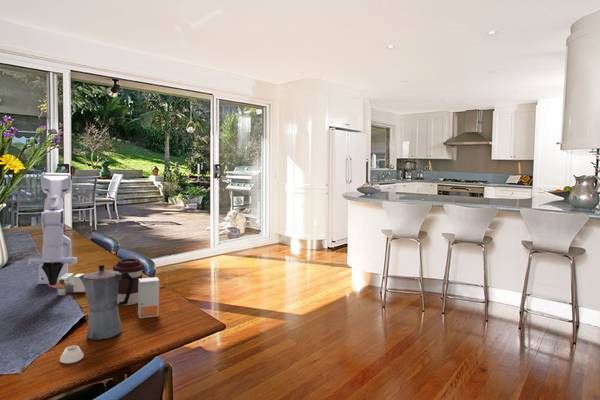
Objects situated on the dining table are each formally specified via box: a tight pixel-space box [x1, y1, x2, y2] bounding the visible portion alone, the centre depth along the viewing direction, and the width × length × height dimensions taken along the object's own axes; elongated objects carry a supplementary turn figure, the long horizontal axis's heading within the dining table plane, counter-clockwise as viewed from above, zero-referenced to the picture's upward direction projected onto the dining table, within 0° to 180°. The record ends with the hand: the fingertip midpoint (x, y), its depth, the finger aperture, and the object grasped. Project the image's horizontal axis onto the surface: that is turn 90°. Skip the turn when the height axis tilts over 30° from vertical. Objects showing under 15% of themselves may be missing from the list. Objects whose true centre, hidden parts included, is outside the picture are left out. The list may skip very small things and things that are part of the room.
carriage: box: [74, 273, 85, 292], centre depth 144 cm, size 4×4×6 cm
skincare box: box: [137, 276, 160, 319], centre depth 124 cm, size 6×4×12 cm
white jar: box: [59, 345, 85, 364], centre depth 95 cm, size 5×3×5 cm
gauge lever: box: [47, 283, 66, 290], centre depth 135 cm, size 3×8×1 cm, turn 11°
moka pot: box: [78, 264, 134, 341], centre depth 109 cm, size 10×15×20 cm, turn 95°
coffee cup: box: [112, 257, 145, 306], centre depth 135 cm, size 10×10×15 cm
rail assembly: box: [57, 272, 86, 295], centre depth 144 cm, size 18×8×6 cm, turn 101°
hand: (53, 284), depth 131 cm, fingers closed, pressing on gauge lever
